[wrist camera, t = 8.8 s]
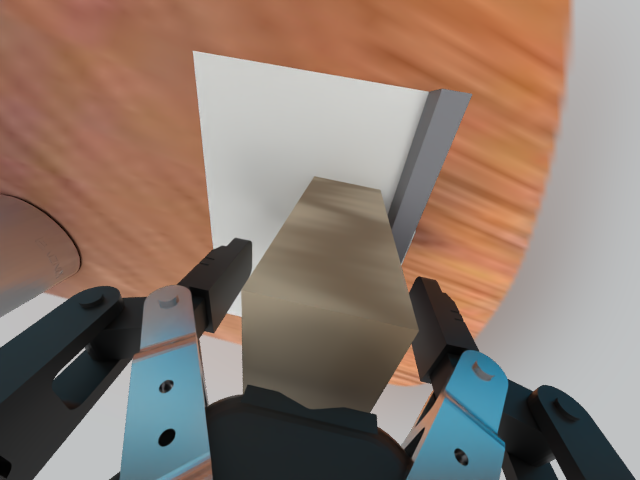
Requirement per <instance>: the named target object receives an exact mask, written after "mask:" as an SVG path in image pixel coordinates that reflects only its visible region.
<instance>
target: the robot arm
mask: <svg viewBox="0 0 640 480" xmlns="http://www.w3.org/2000/svg"><path fill="white" fill-rule="evenodd" d="M79 266H80V258H79V255H78V252H77V249H76V247H75V246H74V244H73V242H72V241H71V239H70V238H69V237H68V235H67V234H66V233H65V232H64V231H63V230H62V229H61V228H60V226H59V225H58V224H57V223H56V222H54V221H53V220H52V219H51V218H50V217H48V216H47V215H46V214H44V213H43V212H42V211H40V210H39V209H37V208H36V207H34V206H32V205H30V204H28V203H26V202H24V201H22V200H20V199H17V198H14V197H11V196H6V195H0V317H2V316H4V315H5V314H7V313H9V312H10V311H12V310H14V309H15V308H17V307H19V306H21V305H22V304H24V303H25V302H27V301H29V300H31V299H33V298H34V297H36V296H38V295H39V294H41V293H43V292H44V291H46V290H48V289H50V288H51V287H53V286H55V285H56V284H58V283H60V282H62V281H63V280H65V279H67V278H68V277H70V276H72V275H74V274H75V273H76V272H77V271H78V270H79ZM251 271H252V242H251V241H250V240H245V239H240V238H234V239H233V240H232V241H231V242H230V243H229V244H228V245H227V246H223V245H222V246H220V247H218V248H216V249H214V250H212V251H211V252H210V253H209V254H208V255H207V256H206V257H205V258H204V259H203V260H202V261H201V262H200V263H199V264H198V265H196V266H195V267H194V268H193V269H192V270H191V271H190V272H189V273H188V274H187V275H186V276H185V277H184V278H183V279H182V280H181V281H180V282H179V283H178V284H177V285H171V286H166V287H162V288H160V289H158V290H156V291H154V292H152V293H151V294H150V295H149V296H148V297H133V298H122V297H121V294H120V292H119V290H118V289H116V288H114V287H110V286H100V287H94V288H90V289H87V290H84V291H82V292H80V293H78V294H76V295H74V296H72V297H71V298H70V299H68V300H67V301H66V302H64V303H63V304H61V305H60V306H58V307H57V308H55V309H54V310H53V311H51V312H50V313H49V314H47V315H46V316H45V317H43V318H41V319H40V320H39V321H37V322H36V323H35V324H33V325H32V326H30V327H29V328H27V329H26V330H25V331H23V332H22V333H21V334H19V335H18V336H16V337H15V338H13V339H12V340H11V341H9V342H8V343H6V344H5V345H4V346H2V347H1V348H0V480H33V479H34V477H35V476H36V475H37V474H38V473H39V471H40V470H41V469H42V468H43V467H44V465H45V464H46V463H47V461H48V460H49V459H50V458H51V457H52V456H53V454H54V453H55V452H56V451H57V449H58V448H59V447H60V446H61V445H62V443H63V442H64V441H65V440H66V438H67V437H68V436H69V435H70V434H71V432H72V431H73V430H74V429H75V428H76V426H77V425H78V424H79V423H80V422H81V420H82V419H83V418H84V417H85V415H86V414H87V413H88V412H89V410H90V409H91V408H92V407H93V406H94V404H95V403H96V402H97V401H98V400H99V398H100V397H101V396H102V395H103V394H104V392H105V391H106V390H107V389H108V387H109V386H110V385H111V384H112V383H113V381H114V380H115V379H116V378H117V377H118V375H119V374H120V373H121V371H122V370H123V369H124V368H125V367H126V366H127V364H128V363H129V362H130V361H131V360H132V358H133V361H132V368H131V377H130V386H129V396H128V405H127V414H126V424H125V433H124V443H123V451H122V461H121V471H120V472H119V473H117V474H116V475H115V476H113V477H112V478H111V479H109V480H499V478H500V473H501V468H502V469H503V472H504V474H505V477H506V480H558V478H557V477H556V474H555V472H554V470H553V468H552V466H551V464H550V461H552V460H554V459H556V460H557V462H558V464H559V466H560V467H561V469H562V471H563V473H564V475H565V477H566V479H567V480H636V479H635V478H634V476H633V475H632V474H631V472H630V471H629V470H628V468H627V467H626V465H625V464H624V462H623V461H622V460H621V458H620V457H619V455H618V454H617V453H616V451H615V450H614V448H613V447H612V446H611V444H610V443H609V441H608V440H607V439H606V437H605V436H604V434H603V433H602V432H601V430H600V429H599V427H598V426H597V425H596V423H595V422H594V421H593V419H592V418H591V416H590V415H589V414H588V413H587V411H586V410H585V409H584V408H583V407H582V406H581V405H580V404H579V403H578V402H576V401H575V400H574V399H573V398H572V397H570V396H569V395H567V394H566V393H564V392H563V391H561V390H559V389H557V388H555V387H552V386H548V385H542V386H540V387H539V388H537V389H536V390H535V391H534V392H533V391H531V390H529V389H527V388H525V387H523V386H521V385H519V384H517V383H515V382H513V381H511V380H509V379H507V377H506V375H505V373H504V372H503V370H502V369H501V368H500V367H499V365H498V364H497V363H496V362H495V361H493V360H492V359H491V358H490V357H488V356H486V355H485V354H483V353H481V352H479V350H478V348H477V346H476V344H475V342H474V340H473V338H472V336H471V334H470V332H469V330H468V328H467V326H466V324H465V322H463V318H462V316H461V314H459V310H458V308H457V306H456V304H455V302H454V301H453V300H452V299H451V298H450V297H449V296H448V295H447V294H446V293H442V291H441V289H440V287H439V285H438V282H437V281H436V280H433V279H428V278H423V277H417V278H416V280H415V282H414V284H413V286H412V288H411V290H410V292H409V296H410V300H411V303H412V307H413V311H414V314H415V318H416V322H417V325H418V329H419V332H418V333H417V335H416V337H415V338H414V340H413V342H412V347H413V352H414V356H415V360H416V364H417V369H418V373H419V377H420V381H422V382H426V383H430V384H432V386H433V391H432V393H431V394H430V396H429V398H428V400H427V402H426V403H425V405H424V407H423V409H422V411H421V413H420V414H419V416H418V418H417V420H416V422H415V424H414V426H413V427H412V429H411V431H410V433H409V434H408V436H407V437H406V439H405V441H404V442H403V443H402V445H401V446H400V445H399V444H398V443H397V442H396V441H395V440H394V439H393V438H392V437H391V436H390V435H389V434H387V433H386V432H385V431H383V430H382V429H381V428H378V427H377V416H376V415H375V414H371V413H367V412H363V411H359V410H354V409H350V408H346V407H339V408H324V409H308V408H306V407H305V406H303V405H301V404H299V403H298V402H296V401H294V400H292V399H291V398H289V397H287V396H285V395H284V394H282V393H280V392H278V391H274V390H270V389H265V388H261V387H257V386H253V385H248V384H247V387H246V389H245V392H244V394H242V395H235V396H230V397H227V398H224V399H221V400H219V401H217V402H214V403H212V404H211V405H209V404H208V398H207V391H206V385H205V378H204V371H203V363H202V356H201V348H200V341H199V338H200V337H201V335H202V334H203V332H204V331H206V332H211V333H214V332H215V331H216V329H217V328H218V326H219V324H220V323H221V321H222V320H223V318H224V317H225V315H226V313H227V312H228V310H229V309H230V307H231V306H232V304H233V302H234V301H235V299H236V298H237V296H238V295H239V293H240V291H241V290H242V288H243V286H244V285H245V283H246V282H247V280H248V279H249V277H250V274H251ZM84 347H85V349H86V350H85V351H84V352H83V353H82V354H81V355H79V356H78V358H76V359H75V360H74V361H73V362H72V363H71V364H70V365H69V366H68V367H67V368H66V369H65V370H64V371H63V372H62V373H61V374H60V375H58V376H57V377H56V378H55V376H56V375H57V373H58V372H59V371H60V370H61V369H62V368H63V367H64V366H65V365H66V364H67V363H68V362H70V361H71V359H73V358H74V357H75V356H76V355H77V354H78V353H79V352H80V351H81V350H82V349H83V348H84ZM54 378H55V379H54Z"/></svg>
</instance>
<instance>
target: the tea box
mask: <svg viewBox="0 0 640 480" xmlns="http://www.w3.org/2000/svg"><path fill="white" fill-rule="evenodd" d="M241 306H242V361H243V394H244V392H245V389H246V387H247V384H248V385H253V386H257V387H261V388H265V389H270V390H274V391H278V392H280V393H282V394H284V395H285V396H287V397H289V398H291V399H292V400H294V401H296V402H298V403H299V404H301V405H303V406H305V407H306V408H308V409H324V408H339V407H346V408H350V409H354V410H359V411H363V412H367V413H370V412H371V410H372V409H373V407H374V405H375V404H376V402H377V400H378V399H379V397H380V395H381V394H382V392H383V390H384V389H385V387H386V385H387V384H388V382H389V380H390V379H391V377H392V375H393V374H394V372H395V370H396V369H397V367H398V365H399V363H400V362H401V360H402V358H403V357H404V355H405V353H406V352H407V350H408V348H409V347H410V345H411V343H412V342H413V340H414V338H415V337H416V335H417V333H418V332H419V329H418V325H417V322H416V318H415V314H414V311H413V307H412V303H411V300H410V296H409V292H408V289H407V285H406V281H405V278H404V274H403V271H402V267H401V263H400V260H399V256H398V252H397V249H396V245H395V241H394V238H393V234H392V230H391V227H390V223H389V219H388V216H387V212H386V208H385V205H384V201H383V197H382V194H381V190H379V189H374V188H369V187H364V186H360V185H355V184H350V183H345V182H340V181H335V180H331V179H326V178H321V177H316V176H314V177H313V179H312V181H311V182H310V184H309V185H308V187H307V188H306V190H305V191H304V193H303V195H302V196H301V198H300V199H299V201H298V202H297V204H296V205H295V207H294V209H293V210H292V212H291V213H290V215H289V216H288V218H287V219H286V221H285V223H284V224H283V226H282V227H281V229H280V230H279V232H278V234H277V235H276V237H275V238H274V240H273V241H272V243H271V244H270V246H269V248H268V249H267V251H266V252H265V254H264V255H263V257H262V258H261V260H260V262H259V263H258V265H257V266H256V268H255V269H254V271H253V272H252V274H251V276H250V277H249V279H248V280H247V282H246V283H245V285H244V286H243V288H242V290H241Z"/></svg>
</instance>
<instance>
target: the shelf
mask: <svg viewBox="0 0 640 480" xmlns="http://www.w3.org/2000/svg"><path fill="white" fill-rule="evenodd" d="M193 57H194V67H195V76H196V86H197V96H198V105H199V115H200V125H201V134H202V144H203V154H204V163H205V173H206V183H207V192H208V202H209V212H210V221H211V231H212V241H213V250H214V249H216V248H218V247H220V246H222V245H223V246H227V245H228V244H229V243H230V242H231V241H232V240H233V239H234V238H240V239H245V240H250V241H251V242H252V271H251V274H252V272H253V271H254V269H255V268H256V266H257V265H258V263H259V262H260V260H261V258H262V257H263V255H264V254H265V252H266V251H267V249H268V248H269V246H270V244H271V243H272V241H273V240H274V238H275V237H276V235H277V234H278V232H279V230H280V229H281V227H282V226H283V224H284V223H285V221H286V219H287V218H288V216H289V215H290V213H291V212H292V210H293V209H294V207H295V205H296V204H297V202H298V201H299V199H300V198H301V196H302V195H303V193H304V191H305V190H306V188H307V187H308V185H309V184H310V182H311V181H312V179H313V177H314V176H316V177H321V178H326V179H331V180H335V181H340V182H345V183H350V184H355V185H360V186H364V187H369V188H374V189H379V190H381V194H382V197H383V201H384V205H385V208H386V212H387V216H388V219H389V223H390V227H391V230H392V234H393V238H394V241H395V245H396V249H397V252H398V256H399V260H400V263H401V265H402V263H403V260H404V258H405V256H406V253H407V251H408V249H409V246H410V244H411V241H412V239H413V237H414V234H415V232H416V231H415V230H416V227H417V225H418V223H419V220H420V218H421V215H422V213H423V211H424V208H425V206H426V203H427V201H428V199H429V196H430V194H431V192H432V189H433V187H434V184H435V182H436V180H437V177H438V175H439V172H440V170H441V168H442V165H443V163H444V161H445V158H446V156H447V153H448V151H449V149H450V146H451V144H452V141H453V139H454V137H455V134H456V132H457V130H458V127H459V125H460V122H461V120H462V118H463V115H464V113H465V110H466V108H467V106H468V103H469V101H470V99H471V96H472V94H469V93H464V92H458V91H452V90H446V89H439V90H435V91H430V92H427V91H422V90H416V89H410V88H404V87H399V86H393V85H387V84H381V83H376V82H370V81H364V80H358V79H353V78H347V77H341V76H335V75H330V74H324V73H318V72H312V71H307V70H301V69H295V68H289V67H284V66H278V65H272V64H266V63H261V62H255V61H249V60H243V59H238V58H232V57H226V56H220V55H215V54H209V53H203V52H197V51H193ZM251 274H250V276H251ZM227 314H232V315H236V316H241V317H242V306H241V291H240V293H239V295H238V296H237V298H236V299H235V301H234V302H233V304H232V306H231V307H230V309H229V310H228V312H227Z"/></svg>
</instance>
